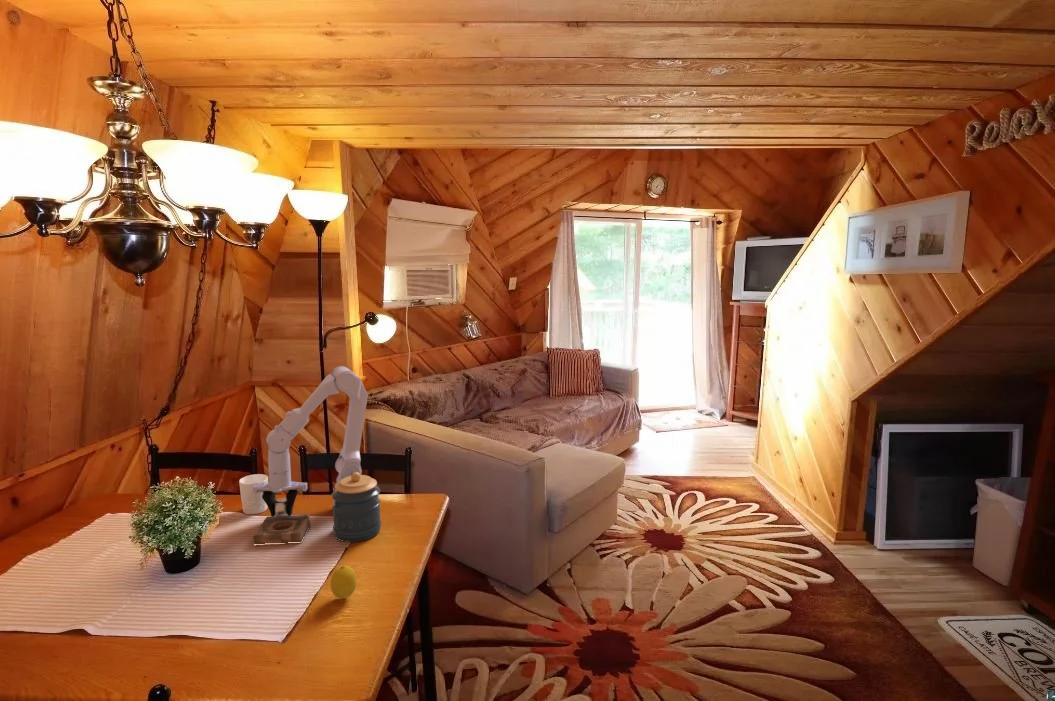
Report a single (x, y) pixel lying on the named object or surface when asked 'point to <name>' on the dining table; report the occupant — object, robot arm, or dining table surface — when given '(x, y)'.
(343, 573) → the lemon
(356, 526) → the canister
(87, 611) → the dining table surface
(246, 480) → the white cup
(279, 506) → the bushing
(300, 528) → the block
